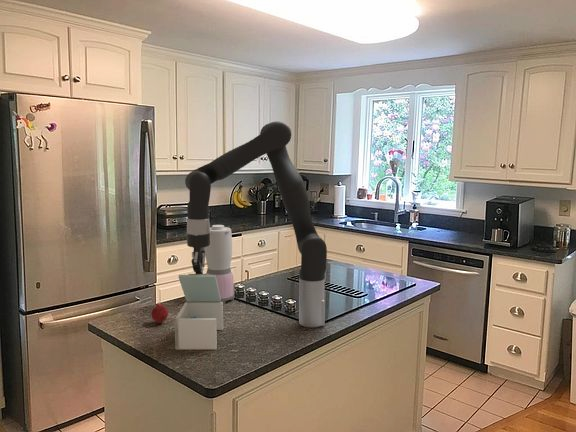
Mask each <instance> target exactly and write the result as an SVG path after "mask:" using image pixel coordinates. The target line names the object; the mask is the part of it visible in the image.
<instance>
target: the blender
mask: <svg viewBox="0 0 576 432" xmlns="http://www.w3.org/2000/svg"><path fill="white" fill-rule="evenodd" d="M232 237H233V236H232V229H231V228H230V227H225V225H224V224H213V225H211V226H210V245H209V246H207V247H204V251H206V255H205V263H206V267H207V269H206V273H205V274H207V275H216V279H217V284H218V289H219V294H220V298H221V302H223V305H225V304H226V302H227V301H230V300H231V301H232V302H233V301H234V299H235V293H234V288H235V287H234V274H233V272H232V269H231V263H232V256H233V238H232Z"/></svg>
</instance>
